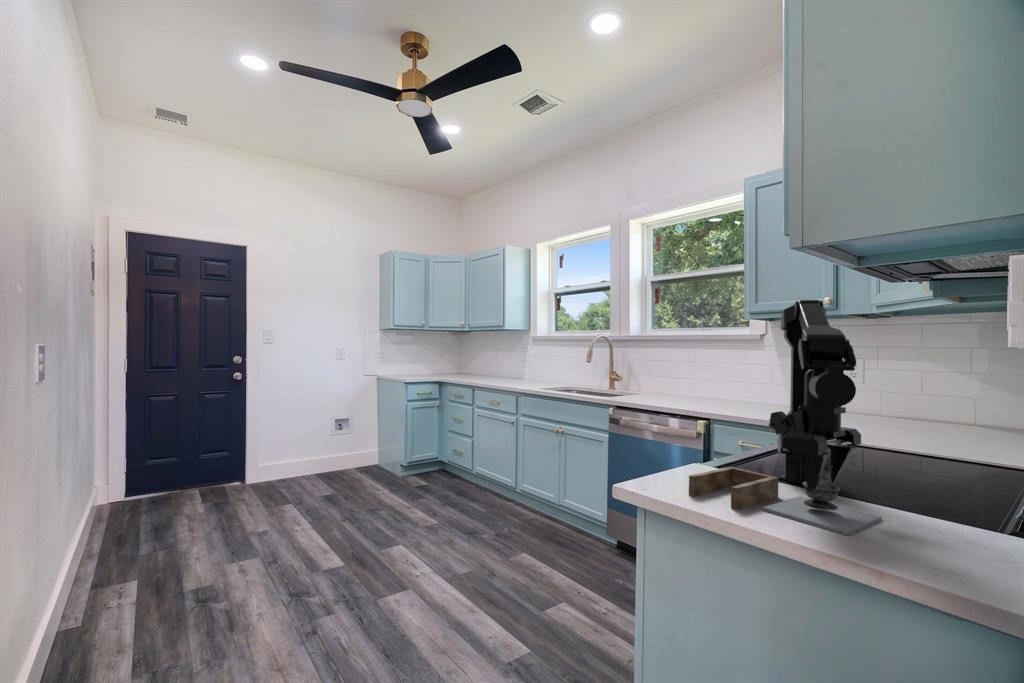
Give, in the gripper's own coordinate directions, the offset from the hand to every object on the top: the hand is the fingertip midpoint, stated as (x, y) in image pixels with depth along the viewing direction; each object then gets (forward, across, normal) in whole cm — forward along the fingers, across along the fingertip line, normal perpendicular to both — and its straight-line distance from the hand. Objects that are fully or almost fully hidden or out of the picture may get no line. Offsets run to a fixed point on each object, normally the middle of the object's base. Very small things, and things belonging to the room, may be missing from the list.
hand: (821, 485), depth 88 cm
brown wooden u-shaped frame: (+5, +4, -15) cm, 16 cm away
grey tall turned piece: (+4, 0, 0) cm, 4 cm away
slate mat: (+5, 0, 0) cm, 5 cm away
